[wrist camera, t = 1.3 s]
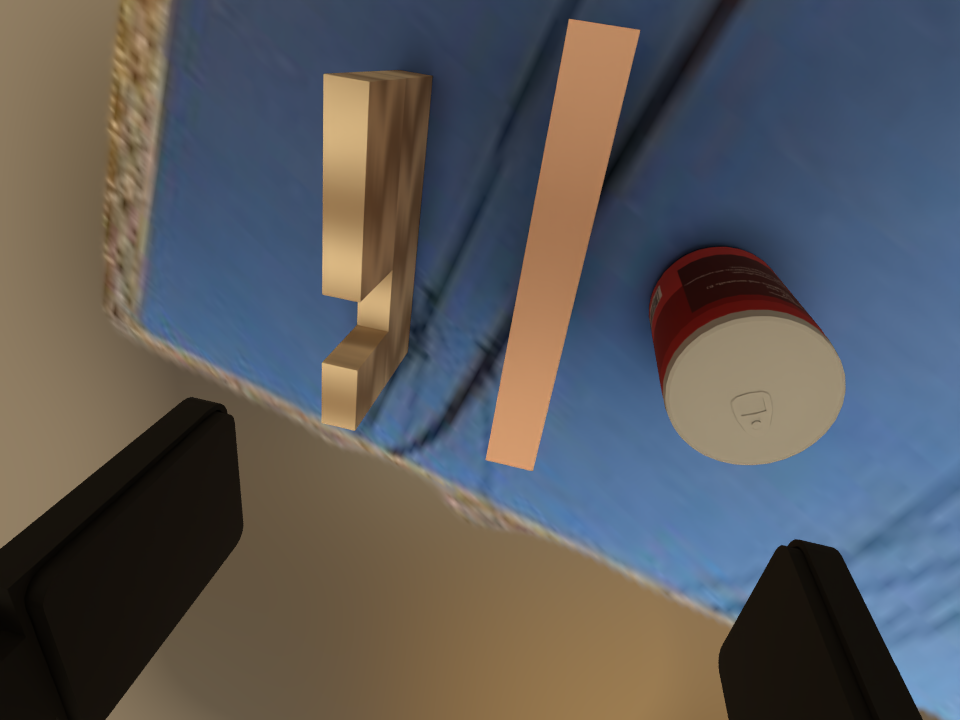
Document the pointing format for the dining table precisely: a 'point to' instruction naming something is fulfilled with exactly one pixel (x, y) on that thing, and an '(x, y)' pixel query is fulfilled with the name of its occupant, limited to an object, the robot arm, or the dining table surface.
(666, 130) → the dining table surface
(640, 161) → the dining table surface
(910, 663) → the dining table surface
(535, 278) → the terracotta plate
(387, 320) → the oak board
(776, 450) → the canned food
